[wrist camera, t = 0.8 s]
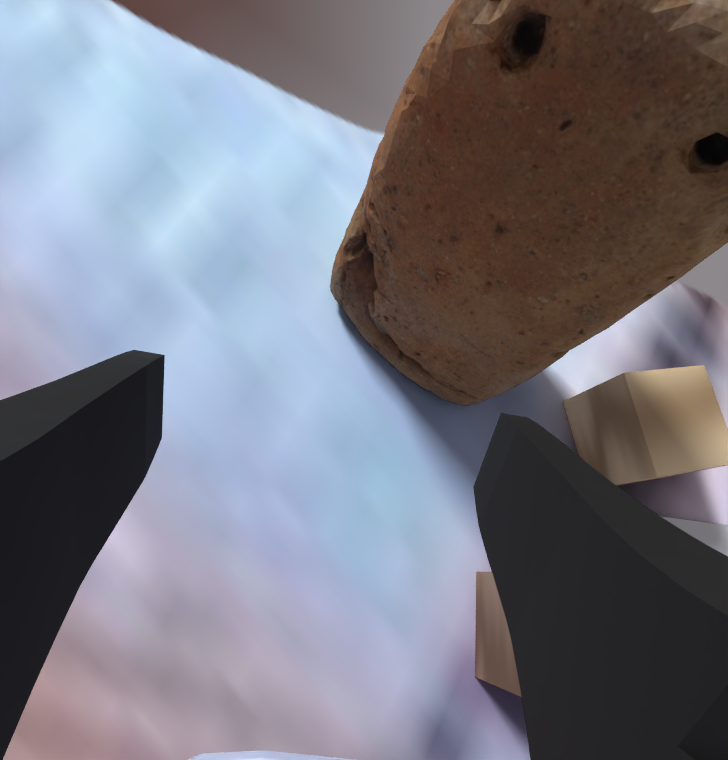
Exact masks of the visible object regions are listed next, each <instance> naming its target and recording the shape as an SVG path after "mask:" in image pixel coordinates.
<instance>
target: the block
mask: <svg viewBox="0 0 728 760" xmlns="http://www.w3.org/2000/svg"><path fill="white" fill-rule="evenodd" d="M726 243H728V0H455V1H454V2H453V4H452V5H451V6H450V8H449V9H448V11H447V12H446V14H445V15H444V16H443V18H442V19H441V20H440V22H439V24H438V26H437V28H436V30H435V31H434V33H433V35H432V36H431V38H430V39H429V40H428V42H427V43H426V45H425V46H424V47H423V50H422V52H421V54H420V56H419V59H418V60H417V63H416V65H415V67H414V69H413V70H412V72H411V74H410V75H409V77H408V79H407V81H406V83H405V85H404V87H403V90H402V92H401V94H400V97H399V99H398V101H397V103H396V105H395V108H394V110H393V112H392V114H391V117H390V119H389V122H388V124H387V126H386V130H385V135H384V137H383V139H382V141H381V142H380V144H379V147H378V149H377V152H376V154H375V157H374V160H373V163H372V167H371V171H370V174H369V178H368V181H367V185H366V187H365V190H364V192H363V194H362V197H361V199H360V202H359V204H358V206H357V208H356V209H355V212H354V214H353V216H352V219H351V222H350V224H349V226H348V227H347V229H346V233H345V236H344V239H343V241H342V243H341V245H340V248H339V250H338V252H337V254H336V258H335V262H334V265H333V270H332V276H331V284H330V289H331V292H332V294H333V296H334V298H335V300H336V301H337V302H338V303H339V304H340V305H341V306H342V307H343V309H344V310H345V312H346V314H347V315H348V316H349V318H350V319H351V320H352V322H353V323H354V324H355V326H356V327H357V329H358V330H359V332H360V334H361V335H362V336H363V337H364V338H365V339H366V340H367V341H368V342H369V343H370V344H371V345H372V346H373V347H374V348H375V349H376V350H377V351H378V352H379V353H380V354H381V355H382V356H383V357H384V358H386V359H387V360H388V361H389V362H390V363H391V364H392V365H393V366H394V367H395V368H396V369H397V370H399V371H400V372H401V373H402V374H404V375H405V376H407V377H408V378H409V379H411V380H412V381H414V382H415V383H416V384H418V385H419V386H421V387H423V388H424V389H427V390H429V391H431V392H433V393H434V394H436V395H438V396H439V397H440V398H441V399H444V400H446V401H449V402H452V403H456V404H460V405H465V406H468V405H472V404H476V403H479V402H482V401H484V400H487V399H490V398H492V397H494V396H497V395H499V394H501V393H504V392H506V391H508V390H510V389H511V388H513V387H515V386H517V385H519V384H520V383H522V382H524V381H526V380H528V379H530V378H531V377H533V376H535V375H536V374H538V373H540V372H541V371H543V370H544V369H546V368H547V367H548V366H550V365H551V364H553V363H554V362H556V361H557V360H558V359H560V358H561V357H563V356H564V355H565V354H566V353H567V352H568V351H569V350H570V349H573V348H575V347H576V346H578V345H580V344H582V343H583V342H585V341H587V340H588V339H590V338H591V337H593V336H595V335H596V334H598V333H600V332H602V331H604V330H605V329H607V328H609V327H610V326H612V325H613V324H614V323H616V322H617V321H618V320H620V319H621V318H623V317H624V316H625V315H627V314H628V313H630V312H631V311H633V310H634V309H635V308H637V307H638V306H640V305H641V304H643V303H644V302H646V301H647V300H649V299H650V298H652V297H653V296H655V295H656V294H657V293H659V292H660V291H662V290H663V289H665V288H666V287H667V286H669V285H670V284H672V283H673V282H675V281H676V280H678V279H679V278H680V277H682V276H683V275H685V274H686V273H687V272H688V271H690V270H691V269H692V268H693V267H695V266H696V265H698V264H699V263H700V262H702V261H703V260H704V259H705V258H707V257H708V256H710V255H711V254H712V253H714V252H715V251H717V250H718V249H719V248H721V247H722V246H723V245H725V244H726Z"/></svg>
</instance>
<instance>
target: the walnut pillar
mask: <svg viewBox="0 0 728 760" xmlns="http://www.w3.org/2000/svg"><path fill="white" fill-rule="evenodd" d="M475 677H476V678H479V679H481V680H483V681H486V682H488V683H490V684H492V685H495V686H497V687H499V688H502V689H504V690H506V691H509V692H511V693H513V694H515V695H518V696H520V697H521V691H520V685H519V679H518V674H517V669H516V663H515V658H514V652H513V647H512V641H511V637H510V633H509V629H508V625H507V621H506V617H505V614H504V611H503V607H502V604H501V601H500V597H499V594H498V590H497V587H496V584H495V580H494V577H493V574H492V572H476V655H475Z"/></svg>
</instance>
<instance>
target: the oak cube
mask: <svg viewBox="0 0 728 760" xmlns="http://www.w3.org/2000/svg"><path fill="white" fill-rule="evenodd" d="M563 403H564V406H565V410H566V413H567V417H568V420H569V424H570V427H571V431H572V434H573V438H574V441H575V445H576V448H577V452H578V455H579V457H580V458H582V459H583V460H584V461H585V462H587V463H588V464H589V465H590V466H592V467H593V468H594V469H595V470H597V471H598V472H599V473H601V474H602V475H603V476H604V477H606V478H607V479H608V480H610V481H611V482H612V483H614V484H615V485H616V486H618V485H624V484H629V483H635V482H641V481H647V480H653V479H659V478H664V477H669V476H674V475H680V474H685V473H690V472H695V471H700V470H705V469H710V468H715V467H721V466H726V465H728V429H727V426H726V423H725V421H724V418H723V415H722V412H721V410H720V407H719V404H718V402H717V399H716V396H715V393H714V391H713V388H712V385H711V383H710V380H709V377H708V375H707V372H706V369H705V366H704V365H701V366H690V367H680V368H670V369H659V370H649V371H639V372H628V373H623V374H620V375H618V376H616V377H614V378H612V379H610V380H608V381H606V382H604V383H601V384H599V385H597V386H595V387H593V388H591V389H589V390H587V391H585V392H582V393H580V394H578V395H576V396H574V397H572V398H570V399H568V400H566V401H563Z"/></svg>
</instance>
